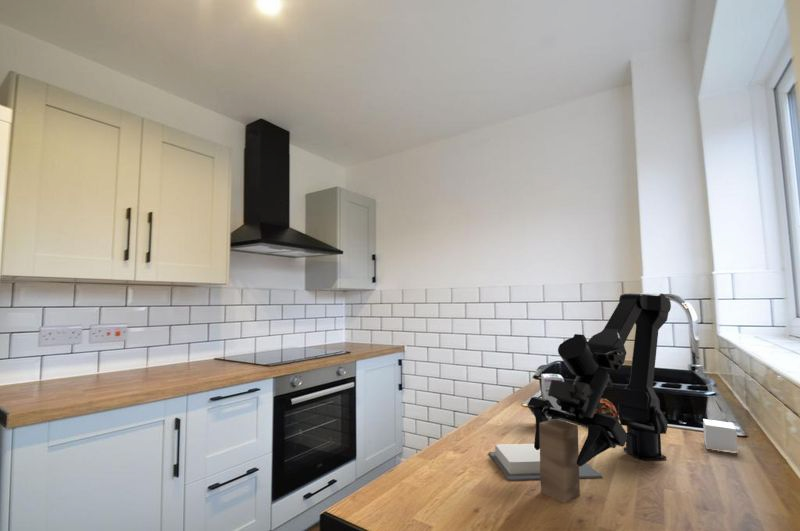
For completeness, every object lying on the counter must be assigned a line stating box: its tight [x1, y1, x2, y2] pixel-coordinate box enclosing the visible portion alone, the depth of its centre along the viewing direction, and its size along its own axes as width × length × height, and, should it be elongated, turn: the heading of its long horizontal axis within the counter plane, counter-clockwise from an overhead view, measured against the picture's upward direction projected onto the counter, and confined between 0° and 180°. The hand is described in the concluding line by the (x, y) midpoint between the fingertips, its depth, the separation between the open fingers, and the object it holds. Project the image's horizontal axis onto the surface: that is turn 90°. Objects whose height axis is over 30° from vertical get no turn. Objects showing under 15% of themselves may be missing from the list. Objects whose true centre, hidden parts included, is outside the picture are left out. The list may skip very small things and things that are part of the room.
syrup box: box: [540, 373, 567, 422], centre depth 116 cm, size 6×6×14 cm
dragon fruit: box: [592, 397, 620, 421], centre depth 117 cm, size 8×8×12 cm
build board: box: [488, 443, 603, 481], centre depth 89 cm, size 20×14×3 cm
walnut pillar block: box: [539, 419, 581, 504], centre depth 76 cm, size 5×5×13 cm
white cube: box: [702, 418, 739, 453], centre depth 99 cm, size 6×6×6 cm
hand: (556, 456), depth 76 cm, fingers open, 9 cm apart
